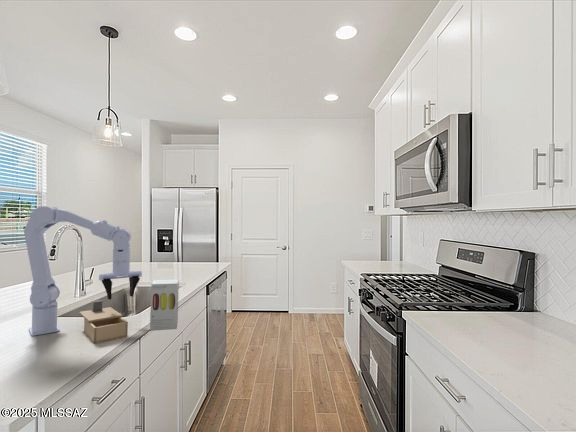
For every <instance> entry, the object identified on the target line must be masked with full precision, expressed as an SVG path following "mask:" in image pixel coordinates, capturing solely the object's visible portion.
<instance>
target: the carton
mask: <svg viewBox="0 0 576 432" xmlns="http://www.w3.org/2000/svg"><path fill="white" fill-rule="evenodd" d="M83 319H84V323H83V334H84V335H85V336H86V337H87V338H88V339H89V340H90V341H91V342H92V343H93V344H94V345H95V344H100V343H104V342H109V341H114V340H118V339H119V340H120V339H123V338H128V330H129V329H128V328H129V327H128V326H129V322H128V321H127V320H125V319H124V318H123V317H117V318H112V319H106V320H100V321H94V322H88V321H87V320H86V319H85V318H83Z"/></svg>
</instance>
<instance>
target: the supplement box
mask: <svg viewBox="0 0 576 432" xmlns="http://www.w3.org/2000/svg"><path fill="white" fill-rule="evenodd" d="M179 282H180V281H179V279H178V278H177V279H154V280H153V281H152V283H151V286H150V287H151V291H150V293H151V294H150V312H149V313H150V318H149V319H150V320H149V331H151V332H152V331H164V330H166V331H167V330H177V329H178V322H179V321H178V320H179V285H180V284H179Z"/></svg>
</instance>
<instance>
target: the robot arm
mask: <svg viewBox="0 0 576 432" xmlns="http://www.w3.org/2000/svg"><path fill="white" fill-rule="evenodd" d="M61 222H62V223H64V222H65V223H67V222H68V223H70V224H73V225H76V226H79V227H82V228H85V229H88V230H90V232H91V234H92V235H93V236H95V237H99V238H101V239H104V240H107V241H110V242H111V241H112V242H113V250H112V272H111V273H109V272H108V273H103V274H102V273H101V274H99V275H98V281H101V283H102V285H103V287H104V289H105V292H106V295H107V299H108V300H109V301H110V300H112V296H113V295H112V288H113V287H112V286H113V280H116V279H128V283H129V293H128V294H129V297H134V294H135V290H136V287H137V286H138V284H139V281H141V280H140V277H143V276H142V275H143V271H142V270H136V271H130V269H131V267H130V266H131V265H130V263H131V261H130V260H131V259H130V258H131V257H130V256H131V248H130V246H131V244H130V241H131V239H132V235H131V233H130V231H128V230H127V229H125V228H121V226H119V225H117V226H116V225H112V224H111V223H109V222H108V221H107V220H97V221H93V220H91V219H89V218H86V217H84V216H81V215H79V214H77V213H75V212H72V211H69V210H66V209H62V208H58V207H55V206H48V205H41V206H38V207H36V208H35V209H34V210H33V211H31V212H30V213H29V218H28V221H27V223H26V225H25V226H24V227H25V228H24V229H23V234H24V238H25V244H26V250H27V256H28V260H29V265H30V271H31V275H32V276H31V277H32V284H31V287H30V290H31V293H30V296H29V302H30V304H31V305H32V306H31V309H32V310H31V313H32V314H31V327H29V328H28V331H29V333H30V336H31V337H34V336H39V335H44V334H51V333H56V332H60V328H59V327H58V301H57V299H58V298H59V297H60V293H61V291H60V289H59V287H58V286H57V285H56V281H55V279H54V278H53V277H52V273H51V268H50V265H49V264H50V263H49V258H48V253H47V252H48V251H47V247H46V242H45V238H44V237H45V235H44V234H45V233H46V231H48V230H49V229H50V228H52V226H54V225H56V224H58V223H61Z"/></svg>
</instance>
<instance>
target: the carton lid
mask: <svg viewBox="0 0 576 432" xmlns="http://www.w3.org/2000/svg"><path fill="white" fill-rule="evenodd" d="M78 313H79V315H80V316H81V317H82V318H83V319H86V320H87V321H88V322H94V321H100V320H106V319H112V318H117V317H121V318H123V315H122V313H120V312H118V311H116V309H113V307H111V306H110V307H109V306H108V307H103V300H101V299H98V300H97V299H96V300H91V309H90V310H83V311H82V310H81V311H79V312H78Z"/></svg>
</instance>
